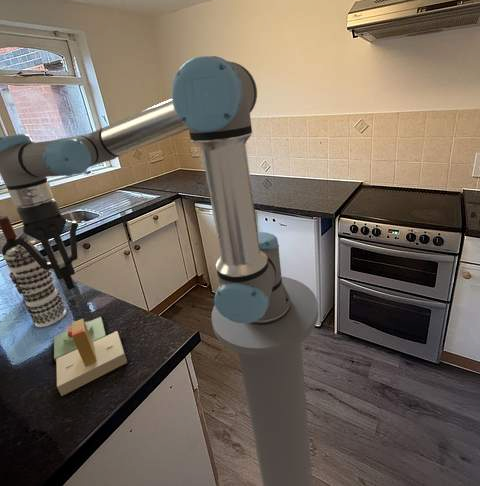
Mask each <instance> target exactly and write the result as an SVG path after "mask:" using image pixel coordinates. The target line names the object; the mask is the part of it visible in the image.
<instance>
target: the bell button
mask: <svg viewBox="0 0 480 486" xmlns="http://www.w3.org/2000/svg"><path fill="white" fill-rule="evenodd" d="M67 329H68V330H67ZM67 329H66V330H67V331H68V334H69V336H70V337H72V325H71V324H70V326H68V327H67Z"/></svg>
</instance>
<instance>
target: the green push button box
mask: <svg viewBox="0 0 480 486" xmlns="http://www.w3.org/2000/svg"><path fill="white" fill-rule="evenodd" d="M84 322H85V324H86V327H87V329H88V332H89V334H90V336H91V339H92V341H93V342H94V341H97V340H99V339H101V338H103V337H105V336H107V333H106V330H105V326H104V321H103V318H102V316H99V317H97V318H94V319H92V320H90V321H89V320H88V321H84ZM67 330H68V328H67V329H66V330H65V331H64V332H61V333H59V334H55V335H54V336H53V359H54V361H55V362H56V359H57V358H59V357H61V356H63V355H66V354H68V353H70V352H72V351H74V350H77V347H76V345H75V342H74V340H73V338H72V337H70V336H69V334H68V331H67Z"/></svg>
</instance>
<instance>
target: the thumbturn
mask: <svg viewBox="0 0 480 486" xmlns="http://www.w3.org/2000/svg"><path fill="white" fill-rule="evenodd" d="M85 322H86V321H85V319H84V318H81V319H78V320H76V321H73V322H71V324H70V326H71V325H72V338H73V340H74V342H75V345H76V347H77V349H78V351H79V354H80V356H81V358H82V360H83V363H84V365H85V366H87V365H89V364H92V363H94V362H96V361H97V359H96V353H95V346H94V344H93V341H92V339H91V336H90V334H89V332H88V329H87V327H86V324H85Z"/></svg>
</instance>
